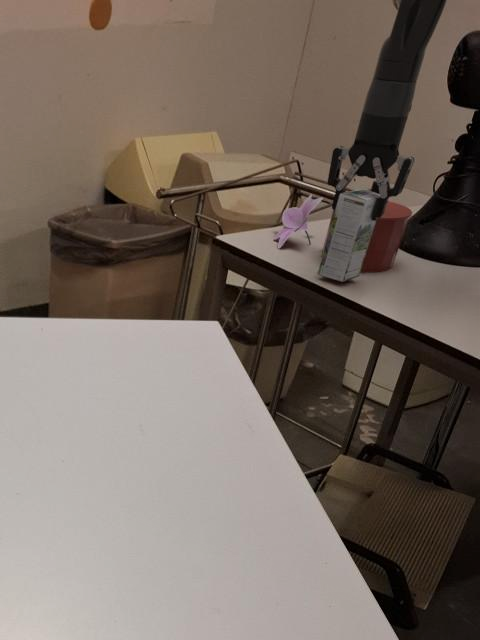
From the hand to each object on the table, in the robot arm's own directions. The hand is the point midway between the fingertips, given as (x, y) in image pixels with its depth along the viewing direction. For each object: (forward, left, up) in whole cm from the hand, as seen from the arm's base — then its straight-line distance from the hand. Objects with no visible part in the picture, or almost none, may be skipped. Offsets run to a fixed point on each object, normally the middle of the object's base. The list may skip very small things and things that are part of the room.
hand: (356, 215), depth 153 cm
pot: (+1, -15, -11) cm, 19 cm away
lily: (+16, -17, -12) cm, 26 cm away
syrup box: (0, 0, -11) cm, 11 cm away
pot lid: (+1, -15, -2) cm, 15 cm away
